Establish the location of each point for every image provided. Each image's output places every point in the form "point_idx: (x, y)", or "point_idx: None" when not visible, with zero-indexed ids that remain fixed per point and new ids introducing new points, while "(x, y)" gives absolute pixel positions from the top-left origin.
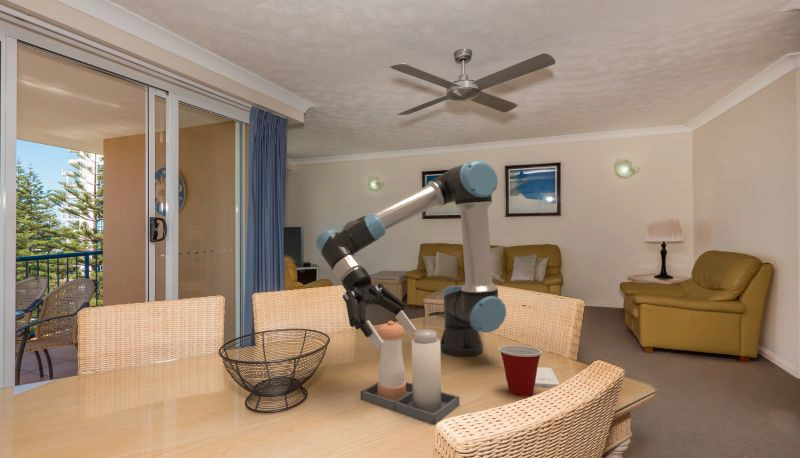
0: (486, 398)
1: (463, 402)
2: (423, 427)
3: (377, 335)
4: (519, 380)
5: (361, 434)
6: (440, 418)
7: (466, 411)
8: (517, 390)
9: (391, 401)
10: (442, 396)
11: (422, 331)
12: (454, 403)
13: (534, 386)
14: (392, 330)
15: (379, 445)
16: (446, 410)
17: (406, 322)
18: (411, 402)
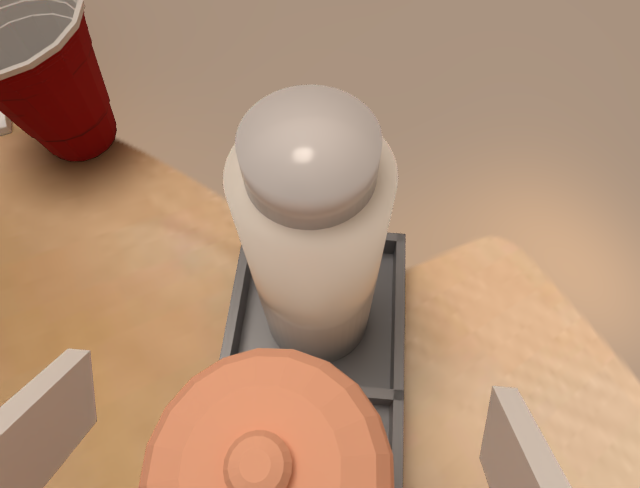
0: (143, 203)
1: (199, 250)
2: (408, 285)
3: (532, 432)
4: (103, 85)
5: (569, 434)
6: None
7: None
8: (110, 116)
9: (403, 414)
10: (246, 283)
11: (308, 157)
12: None
13: (10, 120)
14: (348, 391)
15: (570, 344)
16: None
17: (32, 432)
18: None
